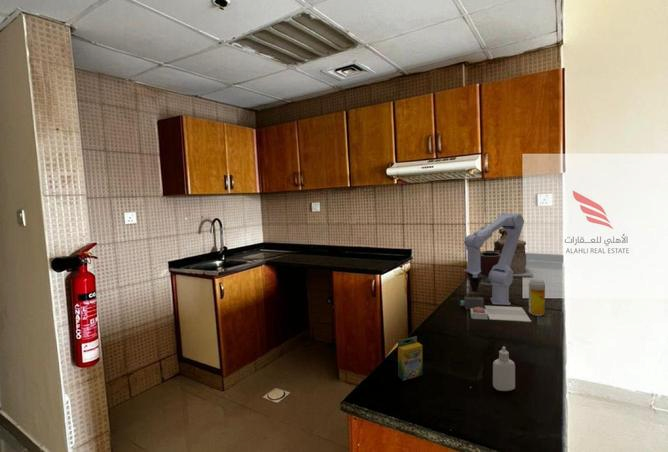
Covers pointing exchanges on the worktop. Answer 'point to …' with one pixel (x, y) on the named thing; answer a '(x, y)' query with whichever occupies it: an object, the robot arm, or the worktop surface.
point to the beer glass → (536, 297)
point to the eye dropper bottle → (503, 372)
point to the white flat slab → (507, 313)
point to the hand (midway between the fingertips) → (474, 289)
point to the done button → (478, 310)
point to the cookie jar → (519, 255)
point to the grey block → (472, 302)
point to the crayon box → (409, 359)
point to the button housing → (479, 314)
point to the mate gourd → (487, 265)
